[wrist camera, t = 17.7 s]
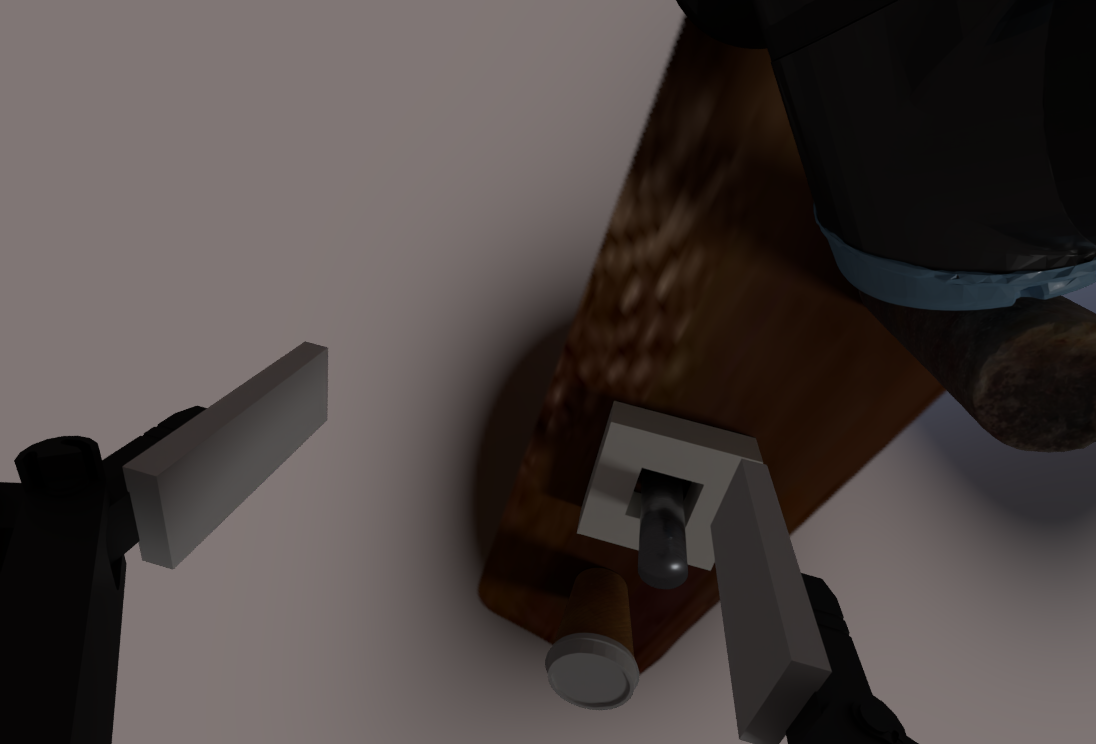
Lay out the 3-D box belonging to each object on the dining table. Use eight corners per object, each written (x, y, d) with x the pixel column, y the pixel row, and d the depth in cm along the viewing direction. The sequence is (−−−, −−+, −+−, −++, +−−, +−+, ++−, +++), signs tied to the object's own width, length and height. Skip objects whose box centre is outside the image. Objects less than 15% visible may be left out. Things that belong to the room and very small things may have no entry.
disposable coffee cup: (605, 544, 61) (595, 636, 51) (658, 596, 63) (659, 695, 53) (544, 577, 65) (523, 669, 55) (596, 625, 67) (585, 723, 57)
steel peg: (648, 454, 55) (646, 547, 44) (687, 465, 55) (694, 561, 43) (637, 484, 57) (632, 580, 45) (674, 494, 57) (678, 594, 45)
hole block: (613, 400, 53) (611, 421, 49) (755, 438, 52) (763, 462, 49) (581, 507, 59) (576, 532, 56) (706, 542, 59) (710, 570, 55)
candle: (862, 330, 46) (994, 472, 28) (838, 251, 43) (965, 353, 26) (965, 294, 43) (1180, 426, 26) (945, 209, 41) (1168, 290, 23)
